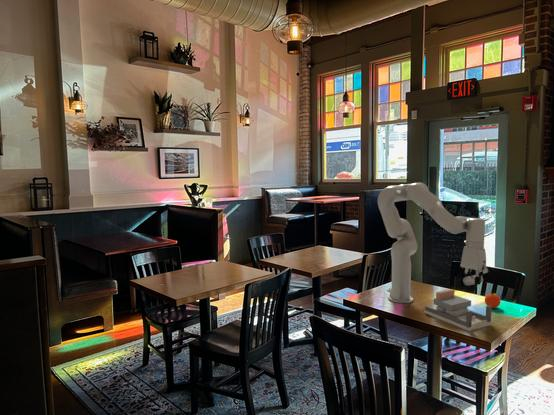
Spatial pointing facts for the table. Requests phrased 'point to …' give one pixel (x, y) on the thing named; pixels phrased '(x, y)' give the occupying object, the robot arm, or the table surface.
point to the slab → (450, 300)
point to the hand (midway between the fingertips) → (473, 282)
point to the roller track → (461, 317)
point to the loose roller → (470, 280)
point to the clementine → (492, 300)
